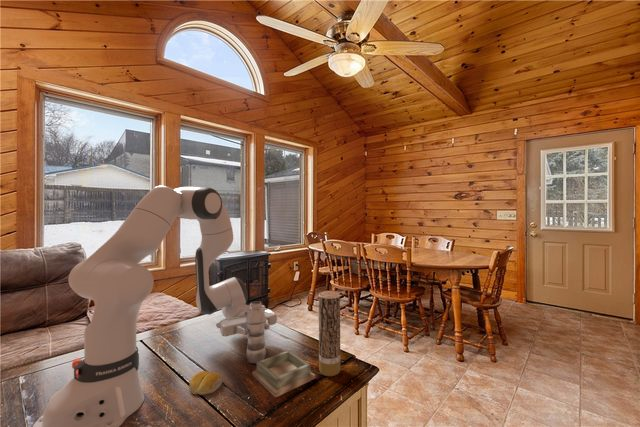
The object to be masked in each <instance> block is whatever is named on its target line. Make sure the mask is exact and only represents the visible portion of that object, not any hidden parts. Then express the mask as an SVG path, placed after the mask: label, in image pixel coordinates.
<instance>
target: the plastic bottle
mask: <svg viewBox="0 0 640 427" xmlns="http://www.w3.org/2000/svg"><path fill="white" fill-rule="evenodd" d="M249 305H250V309H251V311H250V312H249V314H248V315H247V318H246V323H247V329H248V334H247V348H246V352H245V353H246V354H245V356H246V357H245V358H246V360H247V362H249V363H250V364H257V362H259V361H261V360H264V359H266V354H267V348H266V345H265V343H266V342H265V329H264V328H265V321H266V316H265V314H264V312H263V311H262V310H261V308H262V306H261V305H262V302H261V301H260V300H259V301H258V300H257V301H251V302H250V303H249Z"/></svg>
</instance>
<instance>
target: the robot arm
mask: <svg viewBox="0 0 640 427" xmlns="http://www.w3.org/2000/svg"><path fill="white" fill-rule="evenodd" d="M176 219H184V220H185V219H187V220H196V221H198V223H199V229H200V233H201V241H200V245H199V246H198V248H196V250H195V255H194V256H195V257H194V258H195V261H194V262H195V263H194V264H195V265H194V266H195V282H196V283H195V284H196V285H195V286H196V288H195V290H196V292H195V304H196V307H197V309H198V311H199V313H201V314H204V315H208V316H210V315H212V314H214V313H216V312H219V310H221V313H222V315H223V316H224V318H223V319H220V321H218V322H217V323H216V324H215V326H216V328H217V329H219V331H220V332H219V333H220V335H221V336H222V337H230V336H234V335H237V334H238V335H243V336H246V335H247V336H248V329H247V323H246V318H247V315H248V314H249V312H250V311H251V309H250V304H247V302H248V297H249V296H248V295H249V294H248V290H247V287H246V284H245V282H244V281H243V280H242V279H240V278H238V277H236V276H233V277H230V278H227V279H225V280H222V281H219V282H218V283H215V284H213V285H210V279H209V278H210V275H209V272H210V271H209V270H210V267H211V265H212V263H214V261H215V260H216V259H217V258H219V257H220V256H221V255H223V254H224V253H226V252H228V250H229V249H230V247H231V246H232V244H233V241H234V231H233V226H232V221H231V218H230V215H229V212H228V210H227V208H226V205H225V204H224V203H223V200H222V197H221V195H220V193H219V192H218V191H217V190H216V189H214V188H212V187H207V186H201V187H200V186H181V187H169V186H165V185H158V186H157V185H156V186H154V187H153V188H151V190H149V191H148V192H147V193H146V194H145V195H144V196H143V197H142V198H141V200H139V201H138V203H137V204H136V205H135V206H134V208H133V209H132V211H131V212H130V213H129V214H128V215H127V217H126V219H125V220H124V221H123V223H122V224H121V225H120V227H118V229H117V231H116V232H115V233H114V234H113V235H111V237H110V238H109V239H108V240H106V242H104V243H103V244H102V245H101V246H100V247H99V248H98V249H96V251H95V252H93V253H92V254H91V255H90V256H89V257H88V258H85V259H84V260H82V261H80V262H78V263H77V264H76V265H75V266H74V267H73V268H72V269H71V270H70V272H69V274H68V277H67V279H68V285H69V287H70V288H71V290H72V291H73V292H74V293H75V294H77V295H78V296H79V297H81V298H84V299H86V300H91V301H93V303H94V309H93V313H92V317H91V321H90V322H89V323H88V324H87V326H86V327H85V329H84V331H83V338H84V340H83V344H84V345H83V347H84V348H83V350H84V352H83V353H84V358H83V359H81V358H79V357H78V358H75V359H73V361H72V363H71V368H72V369H73V378H72V379H71V380H70V381H68V382H67V383H65V385H64V386H63V387H61V388H60V389H59V390H57V391H56V392H55V393H54V394H53V395H52V396H51V398H50V399H49V400H48V402H47V404H46V407H45V409H44V412H43V414H42V415H41V416H40V417H39V418H38V419H37V420H36V421H35V422H34V424H33V426H32V427H121V425H123V424H124V422H125V420H127V418H128V417H129V416H131V415H132V414H133V413H135V412H136V411H137V410H139V409H140V407H141V406H142V405H143V403H144V401H145V395H144V392H143V388H142V386H141V382H140V377H139V366H140V351H139V347H138V346H137V322H138V317H139V312H140V309H141V306H142V304H143V302H144V301H145V300H146V299H148V297H149V296H150V294H151V293H152V291H153V289H154V282H155V280H154V275H153V273H152V272H151V271H150V270H149V269H148V268H146V267H144V266H143V265H141V264H140V263H141V262H142V261H143V260H144V259H146V258H147V257H149V256H151V255H152V254H153V253H155V252H156V251H157V250H158V249H159V247H160V245H161V244H162V242H163V241H164V239H165V238H166V236H167V234H168V232H169V231H170V230H171V227H172V226H173V224H174V223H175V220H176ZM261 306H262V308H261V310H262V311H263V312H264V314H265V316H266V321H265V328H264V331H266V330H270V327H271V326H273V325H274V326H275V325H276V324H277V322H278V317H277V316H278V315H277V313H276V312H275V311H274V310H272V309H270V308H266V306H265V305H263V304H261ZM40 421H41V422H40Z"/></svg>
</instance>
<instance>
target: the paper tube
mask: <svg viewBox="0 0 640 427" xmlns="http://www.w3.org/2000/svg"><path fill="white" fill-rule="evenodd" d="M318 362H319V363H318V368H319V372H320V374H321V375H323V376H325V377H334V376H335V377H336V376H337V375H339V373H340V372H341V293H340V292H339V291H334V290H323V291H320V292H319V293H318Z"/></svg>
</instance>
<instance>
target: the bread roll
mask: <svg viewBox="0 0 640 427" xmlns="http://www.w3.org/2000/svg"><path fill="white" fill-rule="evenodd" d="M222 384H223V377H222V375H221V374H220V373H218V372H215V371H212V372H210V371H209V370H202V371H199V372H197V373H195V374H194V375H193V376H192V377H191V379H190V381H189V385H188V387H189V392H190V393H192V394H194V395H200V396H206V395H210V394H213V393H215V392H216V391H217V390H219V389H220V387H221V386H222Z"/></svg>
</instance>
